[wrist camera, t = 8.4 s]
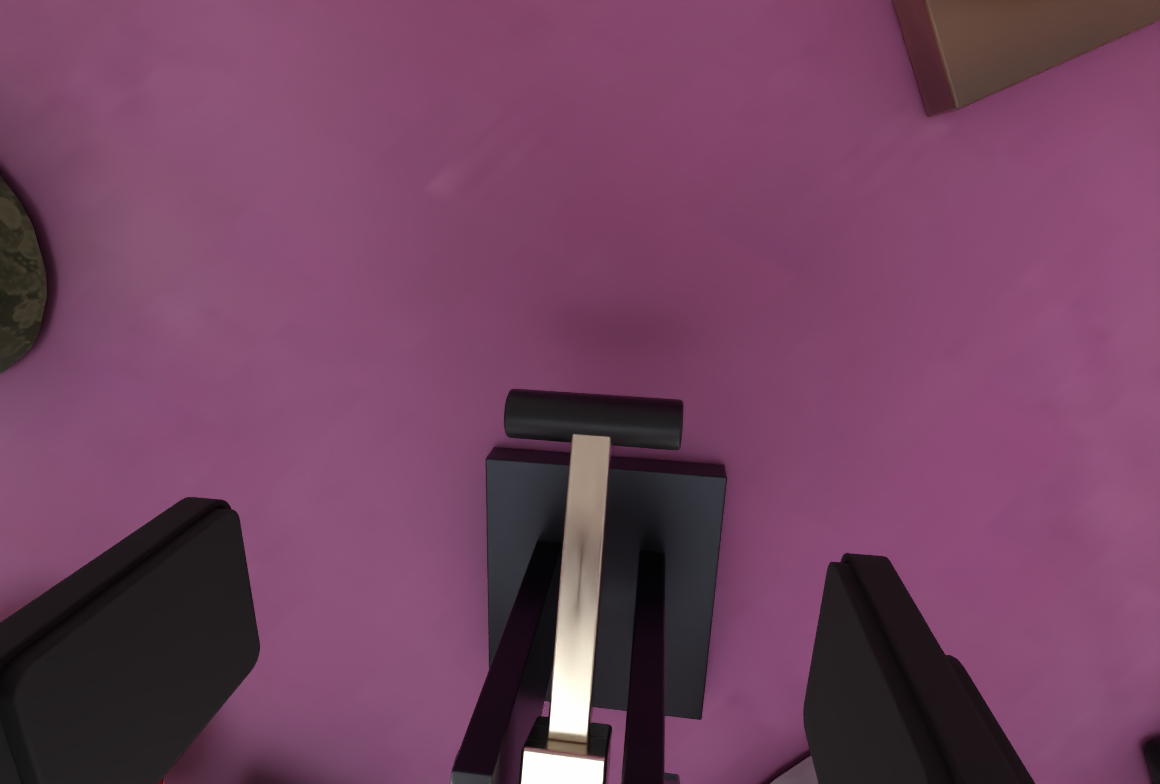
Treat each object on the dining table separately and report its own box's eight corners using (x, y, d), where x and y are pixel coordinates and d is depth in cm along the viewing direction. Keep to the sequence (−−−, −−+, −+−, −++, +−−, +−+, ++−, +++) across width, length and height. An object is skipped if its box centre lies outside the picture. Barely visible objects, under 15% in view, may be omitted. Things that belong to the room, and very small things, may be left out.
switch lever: (519, 394, 20) (502, 382, 18) (680, 405, 20) (685, 394, 17) (480, 811, 19) (456, 858, 16) (655, 836, 18) (656, 888, 16)
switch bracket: (493, 446, 26) (359, 644, 15) (724, 464, 25) (771, 691, 14) (496, 675, 29) (389, 979, 18) (700, 698, 28) (721, 1037, 17)
